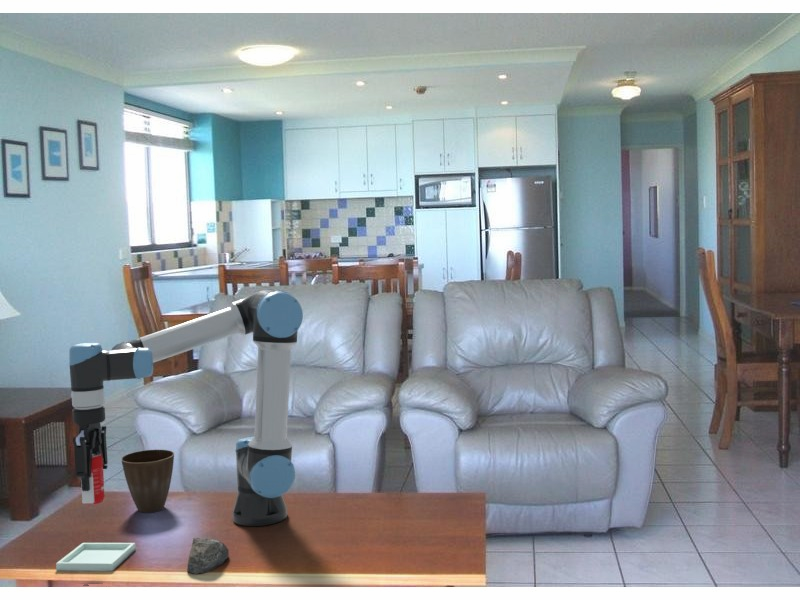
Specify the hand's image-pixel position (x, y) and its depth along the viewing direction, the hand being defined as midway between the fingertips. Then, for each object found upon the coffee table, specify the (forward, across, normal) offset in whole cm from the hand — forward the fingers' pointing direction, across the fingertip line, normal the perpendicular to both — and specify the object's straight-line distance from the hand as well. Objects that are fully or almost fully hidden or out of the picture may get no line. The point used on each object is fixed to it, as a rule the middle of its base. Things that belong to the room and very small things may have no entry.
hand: (93, 499), depth 213 cm
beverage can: (+1, 0, 0) cm, 1 cm away
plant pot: (+16, -40, -2) cm, 43 cm away
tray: (+15, 0, 0) cm, 15 cm away
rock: (+16, +2, +29) cm, 33 cm away
